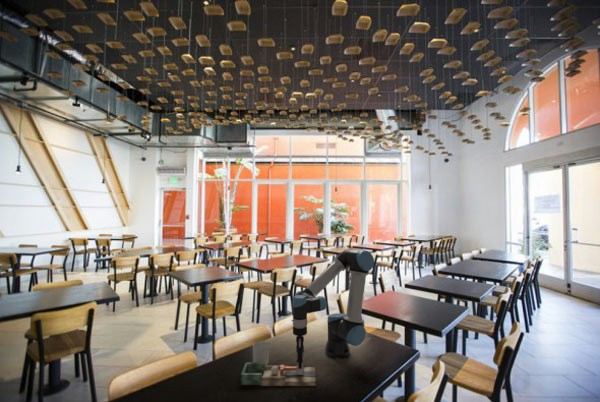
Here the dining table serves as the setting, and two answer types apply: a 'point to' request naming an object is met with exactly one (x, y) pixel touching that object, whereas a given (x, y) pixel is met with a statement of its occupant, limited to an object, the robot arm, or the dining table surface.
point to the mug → (261, 352)
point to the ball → (274, 370)
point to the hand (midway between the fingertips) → (300, 371)
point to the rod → (292, 368)
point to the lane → (275, 376)
